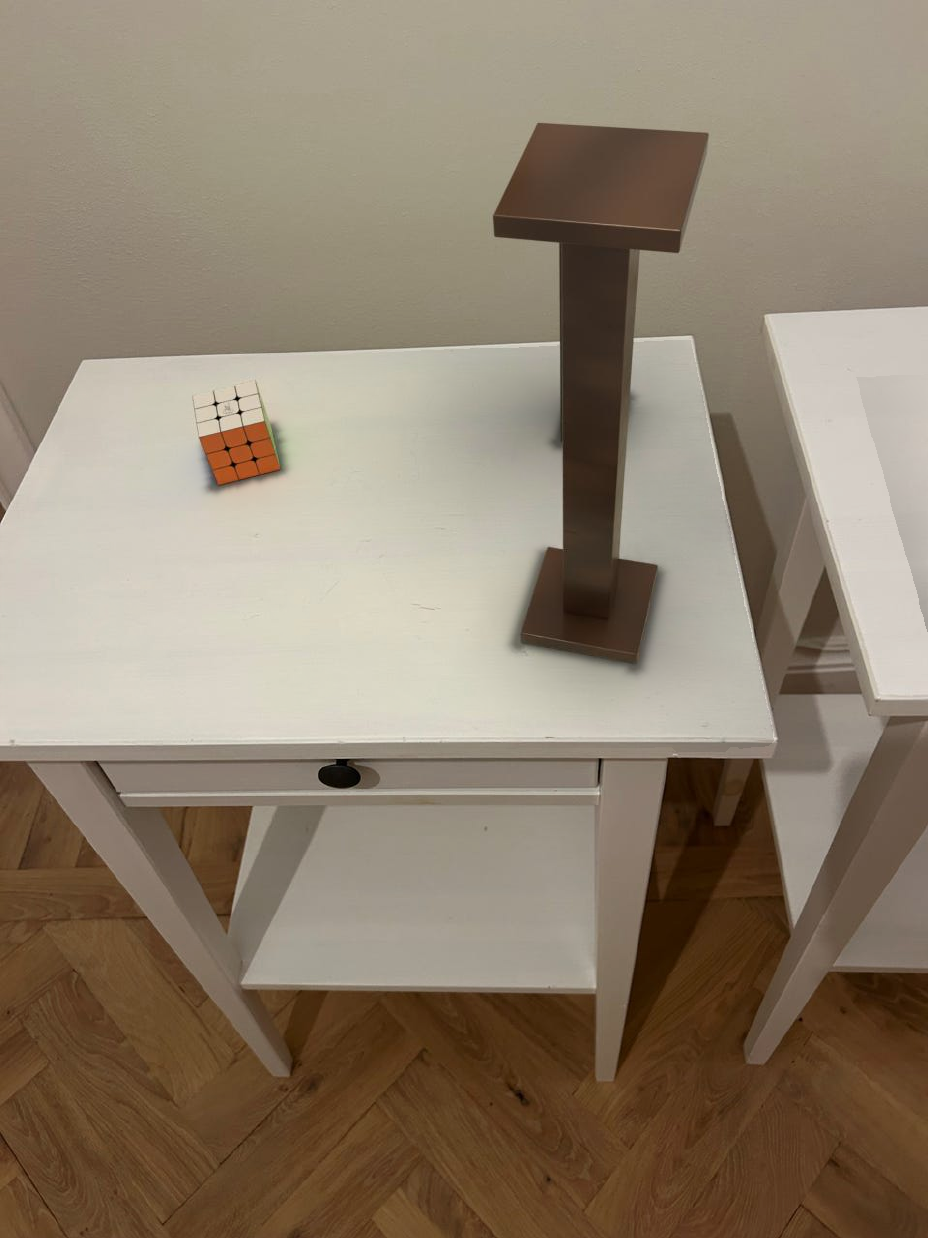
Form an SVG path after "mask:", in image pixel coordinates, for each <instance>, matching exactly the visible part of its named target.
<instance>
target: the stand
mask: <svg viewBox="0 0 928 1238" xmlns="http://www.w3.org/2000/svg"><path fill="white" fill-rule="evenodd" d="M709 136H710V134H709V133H708V132H705V131H704V132H703V131H686V130H685V131H684V130H671V129H670V130H669V129H654V128H653V129H650V128H634V127H620V126H604V125H603V126H601V125H586V124H585V125H583V124H568V123H549V122H537V123H536V125H535V127H534V129H533V131H532V133H531V136H530V137H529V140H528V141H527V144H526V146H525V148H524V150H523V152H522V153H521V154H522V155H521V156H520V158H519V160H518V163H517V165H516V166H515V169H514V171H513V173H512V175H511V177H510V179H509V181H508V183H507V185H506V188H504V189H505V190H504V192H503V194H502V195H501V197H500V200H499V202H498V204H497V206H496V208H495V210H494V212H493V215H492V225H493V236H494V238H500V239H510V240H511V239H513V240H524V241H533V242H534V241H535V242H548V243H557V244H559V243H561V268H562V442H561V443H562V445H561V446H562V447H561V449H562V450H561V452H562V453H561V454H562V455H561V456H562V457H561V459H562V463H561V464H562V470H561V471H562V548H560V547H559V548H558V547H554V546H553V547H552V546H548V547H547V548H546V549H545V550H546V551H545V554H544V557H543V559H542V563H541V567H540V569H539V573H538V575H537V579H536V582H535V585H534V588H533V591H532V595H531V598H530V601H529V604H528V608H527V610H526V614H525V617H524V620H523V623H522V627H521V630H520V634H519V635H520V636H519V637H520V642H521V643H523V644H524V643H525V644H529V645H531V644H532V645H535V646H539V647H546V648H551V649H556V650H561V651H566V652H570V653H571V652H573V653H576V654H577V653H578V654H581V655H582V654H583V655H587V656H588V655H589V656H593V657H598V658H599V657H600V658H604V659H607V660H614V661H619V662H624V663H630V664H637V663H638V660H639V655H640V650H641V646H642V641H643V637H644V634H645V633H644V632H645V629H646V624H647V620H648V616H649V611H650V608H651V607H650V606H651V601H652V598H653V593H654V589H655V584H656V579H657V575H658V569H659V565H658V564H656V563H649V562H643V561H637V560H631V559H625V558H621V557H620V550H621V549H620V548H621V536H622V535H621V534H622V521H623V507H624V506H623V505H624V491H625V476H626V475H625V474H626V463H627V462H626V461H627V448H628V447H627V445H628V432H629V431H628V430H629V416H630V401H631V387H632V386H631V384H632V371H633V355H634V354H633V353H634V342H635V325H636V312H637V297H638V283H639V282H638V281H639V267H640V253H641V252H640V251H648V252H660V253H671V254H679V253H680V252H681V247H682V244H683V240H684V237H685V233H686V230H687V226H688V223H689V219H690V216H691V212H692V208H693V204H694V201H695V197H696V193H697V190H698V186H699V183H700V179H701V176H702V173H703V169H704V165H705V161H706V158H707V154H708V146H709Z"/></svg>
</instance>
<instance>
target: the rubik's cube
mask: <svg viewBox="0 0 928 1238" xmlns="http://www.w3.org/2000/svg"><path fill="white" fill-rule="evenodd" d="M191 398H192V404H193V410H194V416H195V424H196V429H197V436H198V439H199V442H200V445H201V446H202V447H201V448H202V449H203V451H204V454H205V457H206V459H207V462H208V464H209V467H210V468H211V471H212V474H213V477H214V478H215V481H216V483H217V485H218V486H220V485H224V484H228V483H233V482H237V481H241V480H244V479H248V478H252V477H256V476H260V475H264V474H267V473H272V472H276V471H279V470H281V469H282V468H281V463H280V460H279V456H278V451H277V446H276V442H275V437H274V434H273V429H272V426H271V423H270V419H269V416H268V413H267V411H266V407H265V405H264V401H263V398H262V395H261V392H260V389H259V385H258V382H257V380H251V381H247V382H243V383H239V384H235V385H230V386H227V387H222V388H219V389H214V390H210V391H207V392H203V393H198V394H194V395H191Z"/></svg>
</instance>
